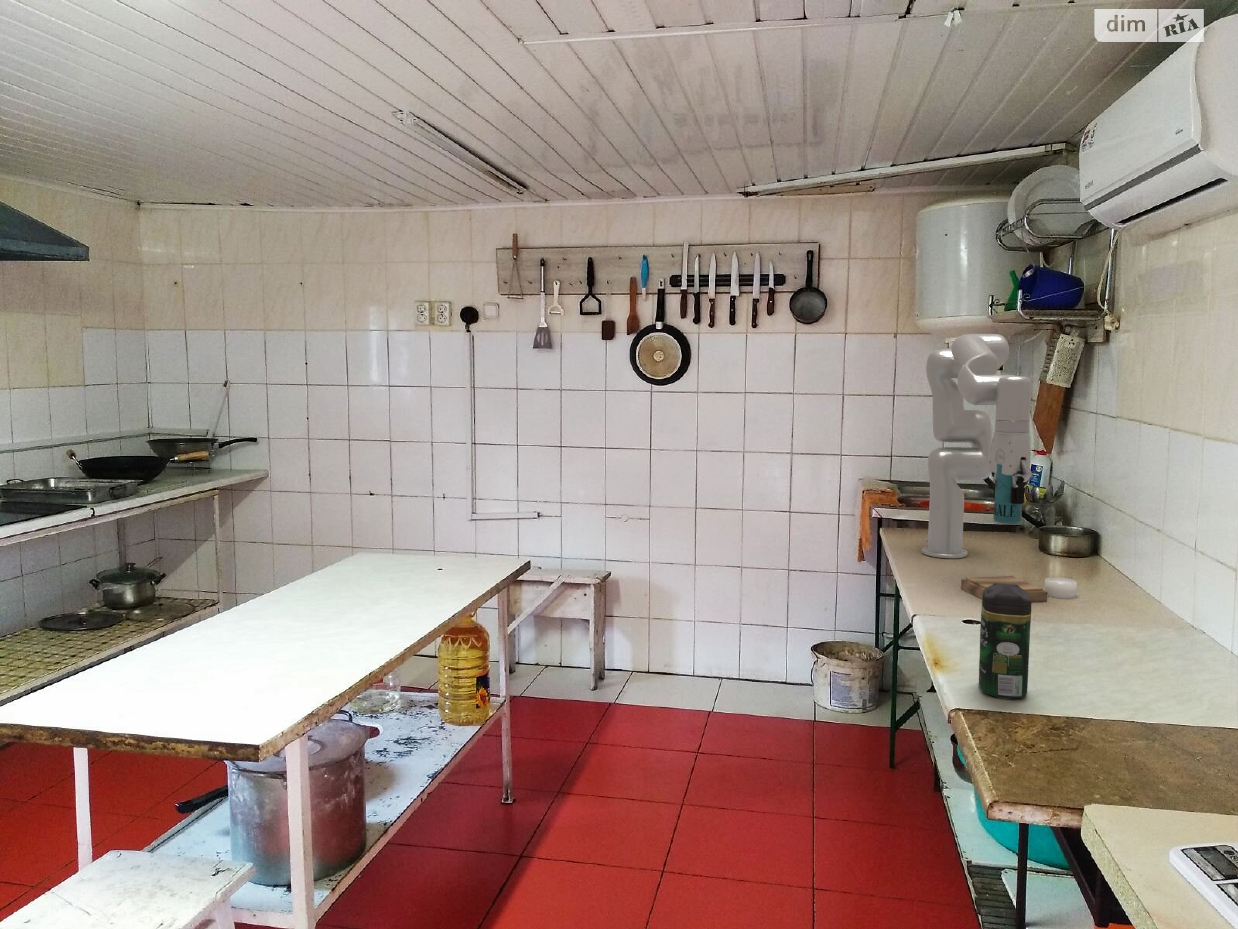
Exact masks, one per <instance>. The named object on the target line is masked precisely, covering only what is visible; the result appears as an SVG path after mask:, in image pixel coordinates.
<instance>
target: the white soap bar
mask: <svg viewBox="0 0 1238 929" xmlns="http://www.w3.org/2000/svg"><path fill="white" fill-rule="evenodd" d="M1077 588H1078V582H1077V580H1074V579H1071V578H1067V577H1065V578H1064V577H1058V576H1057V577H1046V578H1044V591H1047V592H1048V594H1047V595H1048V596H1047V597H1050V596H1052V597H1051V598H1054V597H1055V598H1054V599H1060V598H1061V599H1063V600H1073V598H1074V599H1076V598H1077V590H1078V589H1077ZM1075 597H1076V598H1075Z"/></svg>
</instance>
